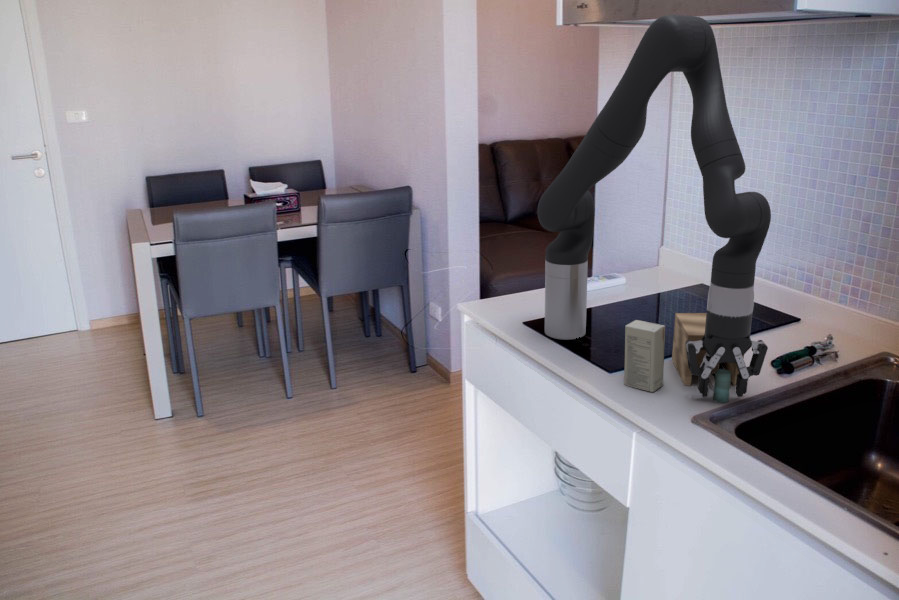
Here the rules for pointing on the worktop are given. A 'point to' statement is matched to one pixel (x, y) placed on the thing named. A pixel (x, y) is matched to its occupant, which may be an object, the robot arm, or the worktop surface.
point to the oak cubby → (694, 330)
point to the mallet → (717, 379)
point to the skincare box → (644, 355)
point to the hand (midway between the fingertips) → (721, 394)
